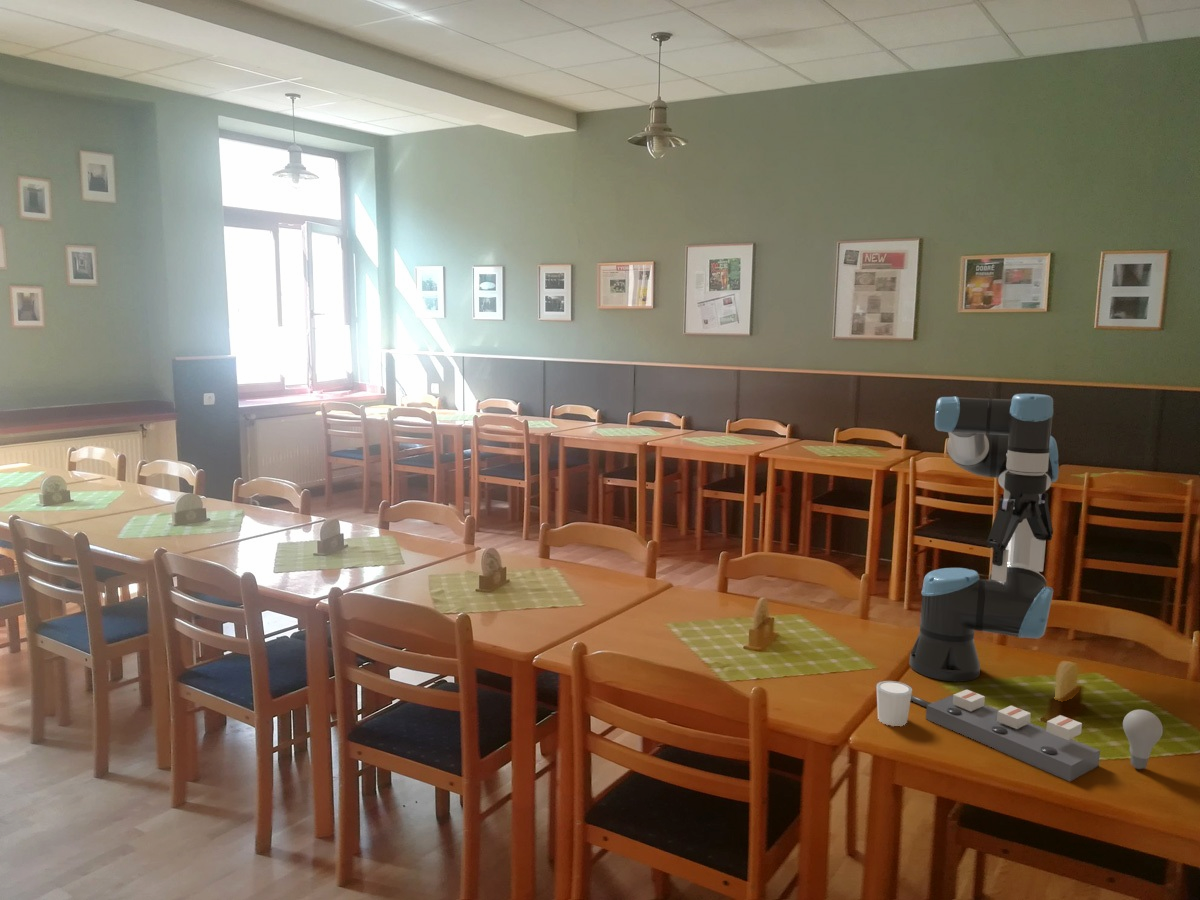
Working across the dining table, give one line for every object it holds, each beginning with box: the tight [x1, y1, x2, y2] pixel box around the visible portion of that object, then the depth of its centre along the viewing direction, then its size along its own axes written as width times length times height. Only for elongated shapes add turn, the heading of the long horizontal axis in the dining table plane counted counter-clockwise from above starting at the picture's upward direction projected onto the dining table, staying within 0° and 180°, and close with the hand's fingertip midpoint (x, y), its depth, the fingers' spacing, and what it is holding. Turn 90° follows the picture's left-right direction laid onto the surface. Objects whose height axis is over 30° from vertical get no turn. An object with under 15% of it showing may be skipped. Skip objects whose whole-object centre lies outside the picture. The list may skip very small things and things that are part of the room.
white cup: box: [875, 680, 913, 727], centre depth 176 cm, size 7×7×7 cm
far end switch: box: [1045, 714, 1083, 740], centre depth 161 cm, size 5×4×2 cm
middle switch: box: [997, 705, 1032, 729], centre depth 169 cm, size 5×4×2 cm
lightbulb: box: [1122, 709, 1164, 770], centre depth 158 cm, size 6×6×11 cm
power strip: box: [910, 694, 1101, 783], centre depth 172 cm, size 10×39×3 cm, turn 35°
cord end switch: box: [952, 689, 986, 711], centre depth 176 cm, size 5×4×2 cm
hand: (1017, 575), depth 178 cm, fingers open, 13 cm apart
